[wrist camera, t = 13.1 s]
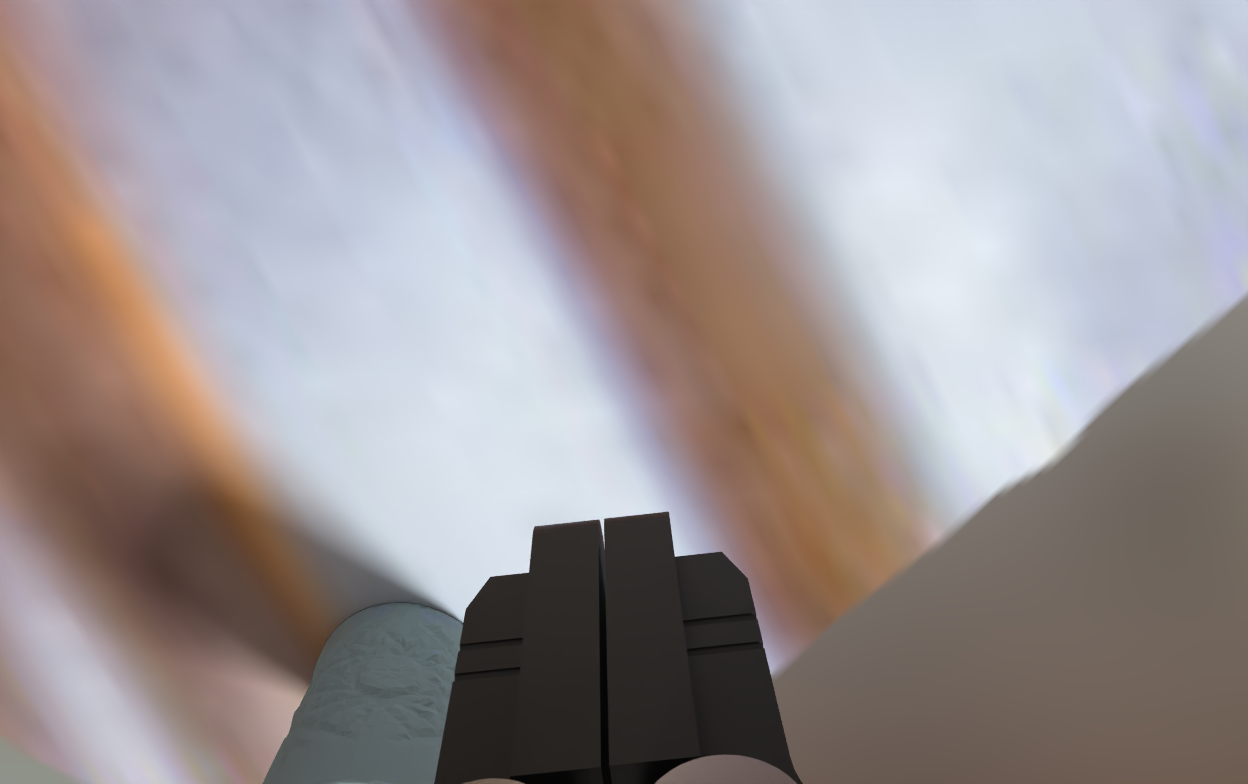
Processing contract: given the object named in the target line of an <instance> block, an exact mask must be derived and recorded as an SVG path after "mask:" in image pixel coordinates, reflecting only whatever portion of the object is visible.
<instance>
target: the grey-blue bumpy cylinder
mask: <svg viewBox="0 0 1248 784" xmlns="http://www.w3.org/2000/svg"><path fill="white" fill-rule="evenodd" d="M462 628H463V624H462V623H461V622H460V621H457V620H456V619H454V618H453V617H450V616H448V615H447V614H445V613H443V612H441V611H438V610H434V609H432V608H430V607H428V606H427V607H423V606H422V605H419V604H413V603H387V604H382V605H377V606H373V607H369V608H366V609H364V610H362V611H359V612H357V613H355V614H354V615H352V616H351V617H349V618H348V619H346V620H345V621H344V622H343V623H342V624H340V625H339V626H338V627H337V628H336V629H335V631H334V632H333V633H332V634H331V636H330V637H329V638H328V640H327V642H326V643H325V645H324V648H323V650H322V652H321V654H320V656H319V658H318V660H317V663H316V665H315V668H314V671H313V675H312V679H311V683H310V687H309V688H308V690H307V692H306V694H305V696H304V697H303V700H302V702H301V704H300V706H299V707H298V709H297V710H296V711H295V712H294V716H293V719H292V724H291V728H290V731H289V734H288V735H287V737H286V738H285V739H284V741H283V743H282V745H281V747H280V749H279V751H278V753H277V755H276V757H275V759H274V761H273V763H272V765H271V767H270V769H269V771H268V773H267V775H266V778H265V780H264V782H263V784H434V782H435V776H436V771H437V765H438V760H439V754H440V749H441V743H442V738H443V732H444V727H445V721H446V716H447V710H448V705H449V699H450V694H451V688H452V683H453V681H455V676H454V672H455V667H456V661H457V656H458V651H460V639H461V634H462Z"/></svg>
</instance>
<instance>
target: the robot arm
mask: <svg viewBox="0 0 1248 784" xmlns="http://www.w3.org/2000/svg"><path fill="white" fill-rule="evenodd" d="M604 538H605V549H604V541H603V535H602V529H601V524H600V520H590V521H581V522H572V523H563V524H553V525H544V526H535V527H534V530H533V538H532V549H531V559H530V570H529V573H522V574H513V575H504V576H494V577H490V578H489V580H488V581H487V582H486V583H485V585H484V586H483V587H482V589H481V590H480V591H479V593H478V594H477V595H476V597H475V598H474V599H473V601H472V602H471V603H470V604H469V606H468V607H467V608H466V612H465V617H464V623H463V628H462V634H461V639H460V651H458V656H457V661H456V667H455V672H454V676H455V681H453V683H452V688H451V694H450V699H449V705H448V710H447V716H446V721H445V727H444V732H443V738H442V743H441V749H440V754H439V760H438V765H437V771H436V776H435V782H434V784H803V783H802V782H801V781H800V779H799V777H798V775H797V773H796V772H795V770H794V767H793V764H792V762H791V758H790V755H789V750H788V746H787V742H786V738H785V734H784V729H783V725H782V721H781V717H780V712H779V709H778V704H777V700H776V696H775V691H774V687H773V683H772V679H771V675H770V670H769V666H768V662H767V658H766V653H765V649H764V648H763V641H762V637H761V632H760V628H759V624H758V620H757V618H756V611H755V607H754V603H753V599H752V595H751V590H750V586H749V582H748V578H747V577H746V576H745V575H744V574H743V573H742V572H741V571H740V570H739V569H738V568H737V567H736V566H735V565H734V564H733V563H732V562H731V561H730V560H729V559H728V558H727V557H726V556H725V555H724V554H723V553H722V552H715V553H706V554H697V555H687V556H678V557H675V556H674V548H673V541H672V533H671V525H670V518H669V512H662V513H653V514H643V515H634V516H625V517H616V518H607V519H604Z"/></svg>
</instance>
